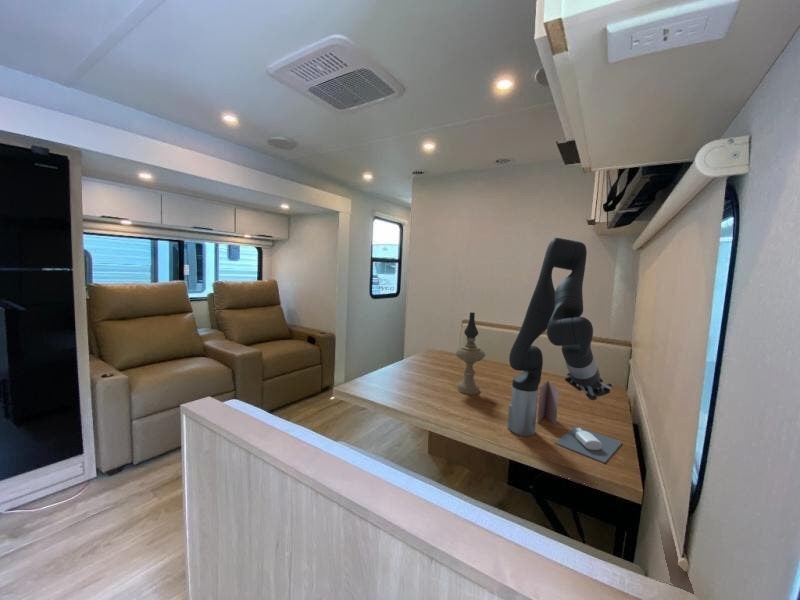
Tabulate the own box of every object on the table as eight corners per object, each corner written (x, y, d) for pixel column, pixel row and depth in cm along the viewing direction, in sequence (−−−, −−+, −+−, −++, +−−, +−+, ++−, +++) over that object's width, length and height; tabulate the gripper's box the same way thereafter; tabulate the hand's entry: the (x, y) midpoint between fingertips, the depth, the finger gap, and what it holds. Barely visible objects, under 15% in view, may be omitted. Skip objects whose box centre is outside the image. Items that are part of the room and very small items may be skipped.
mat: (554, 443, 119) (554, 442, 119) (575, 426, 133) (575, 425, 133) (604, 463, 108) (604, 462, 108) (622, 443, 121) (622, 442, 121)
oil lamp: (451, 392, 165) (454, 313, 161) (455, 383, 179) (459, 310, 176) (482, 397, 161) (486, 315, 157) (484, 387, 175) (488, 312, 171)
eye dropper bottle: (599, 437, 114) (581, 421, 126) (584, 443, 115) (567, 427, 127) (604, 447, 115) (585, 431, 127) (589, 454, 115) (572, 437, 127)
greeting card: (543, 413, 145) (546, 380, 143) (562, 418, 140) (564, 384, 138) (535, 422, 136) (537, 387, 134) (554, 428, 131) (557, 391, 130)
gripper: (612, 361, 91) (620, 393, 101) (562, 351, 101) (574, 381, 111) (604, 384, 88) (613, 415, 98) (553, 371, 98) (566, 400, 108)
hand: (592, 397), depth 104 cm, fingers closed
